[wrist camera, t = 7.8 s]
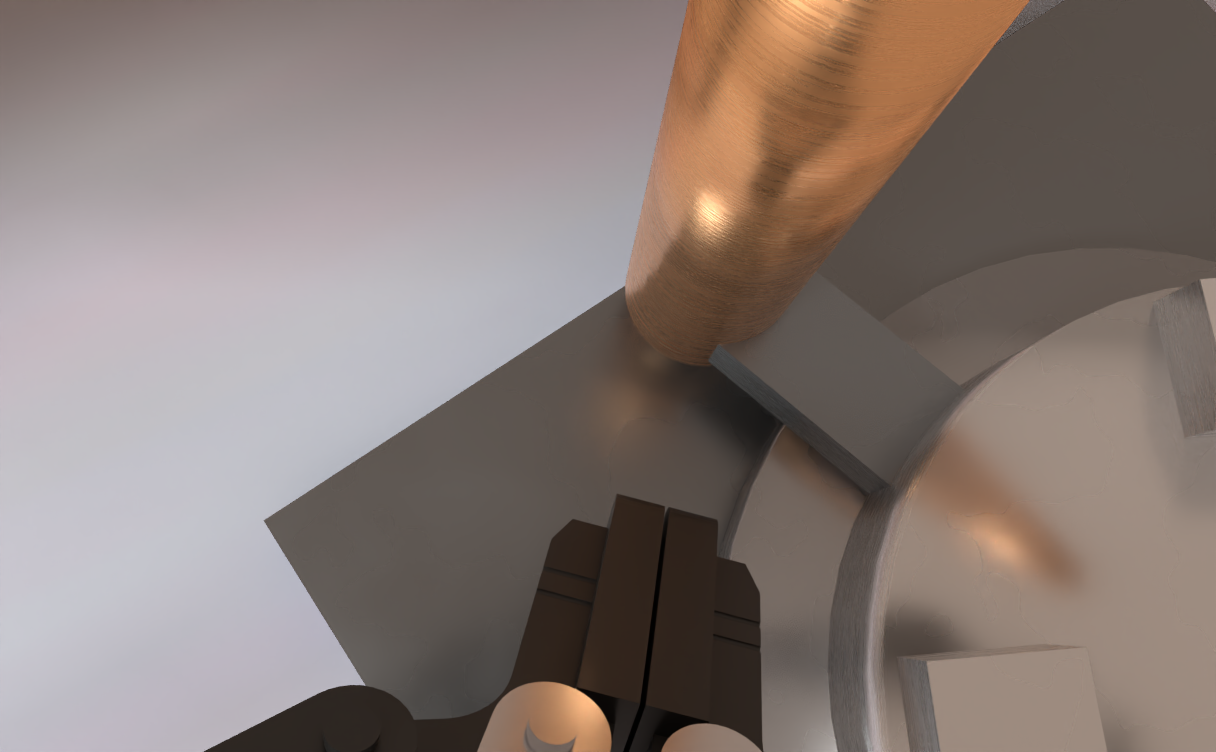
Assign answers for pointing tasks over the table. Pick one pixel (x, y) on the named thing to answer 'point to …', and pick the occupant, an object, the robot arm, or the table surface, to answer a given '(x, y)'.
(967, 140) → the base plate
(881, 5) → the grey disc with handle
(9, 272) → the table surface
